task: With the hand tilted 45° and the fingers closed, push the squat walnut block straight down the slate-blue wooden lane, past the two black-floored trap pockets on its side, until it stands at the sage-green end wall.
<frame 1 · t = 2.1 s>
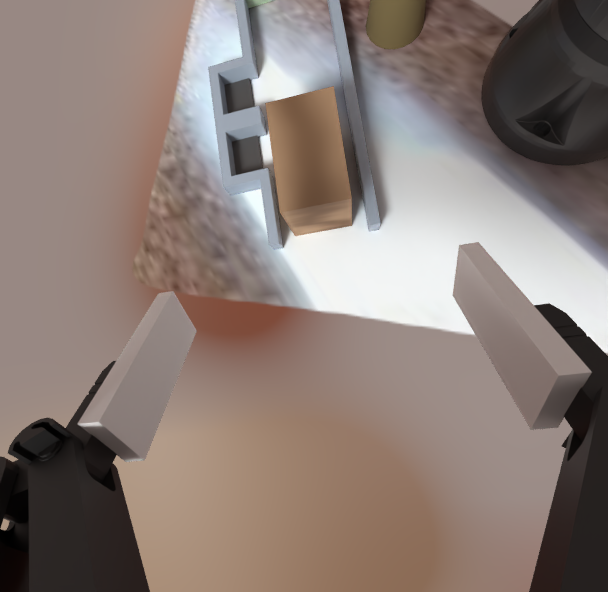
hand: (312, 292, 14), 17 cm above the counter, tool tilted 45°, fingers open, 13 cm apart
trap lane: (306, 124, 33), on the counter
cork: (394, 24, 33), on the counter
walnut block: (316, 186, 33), resting in trap lane
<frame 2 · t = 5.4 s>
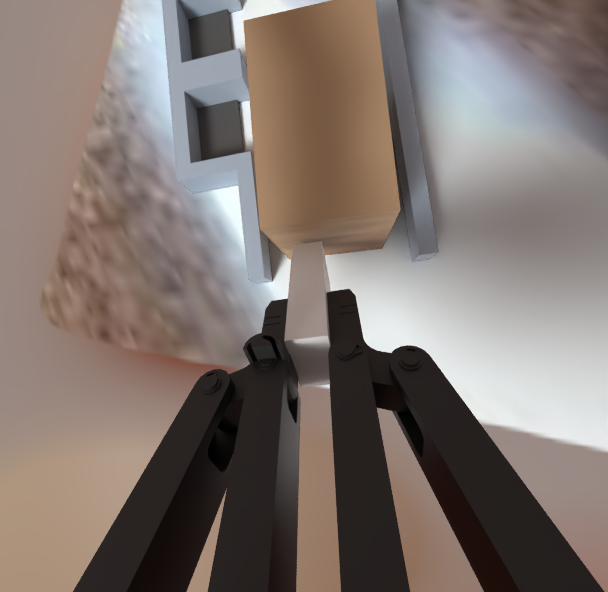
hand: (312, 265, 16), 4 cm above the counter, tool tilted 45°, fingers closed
trap lane: (315, 85, 21), on the counter
walnut block: (327, 180, 20), resting in trap lane, touching gripper
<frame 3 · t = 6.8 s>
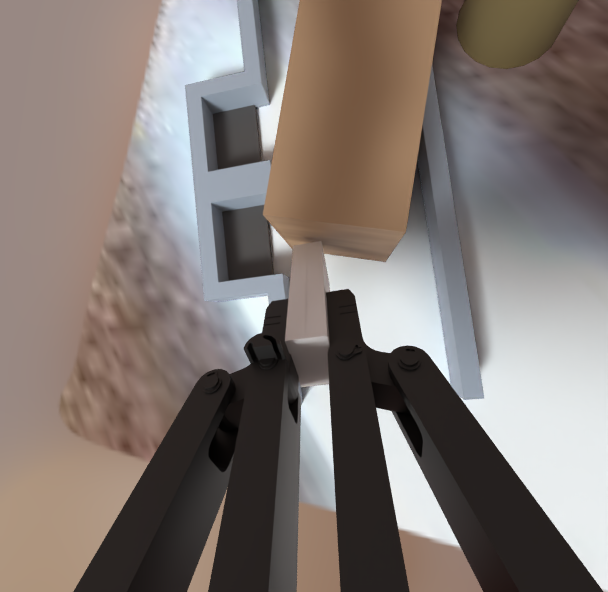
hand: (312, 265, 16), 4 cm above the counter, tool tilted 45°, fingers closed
trap lane: (348, 192, 20), on the counter
cork: (506, 25, 19), on the counter
walnut block: (350, 179, 20), resting in trap lane, touching gripper
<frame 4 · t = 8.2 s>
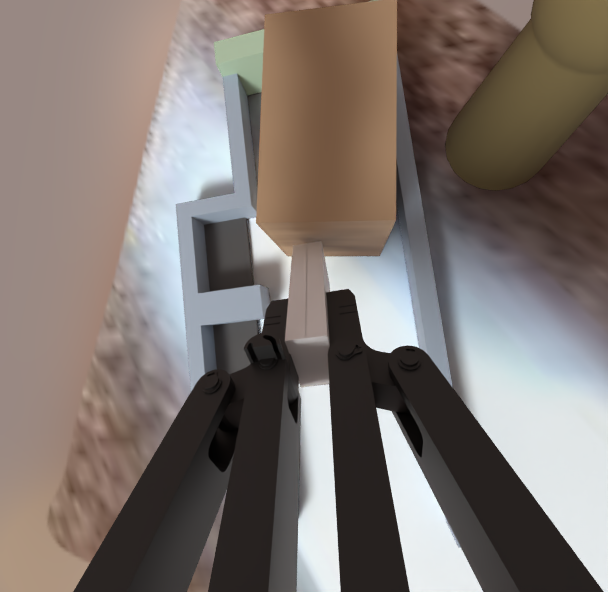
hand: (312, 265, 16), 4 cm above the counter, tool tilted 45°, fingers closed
trap lane: (339, 309, 20), on the counter
cork: (494, 145, 19), on the counter
walnut block: (334, 182, 20), resting in trap lane, touching gripper
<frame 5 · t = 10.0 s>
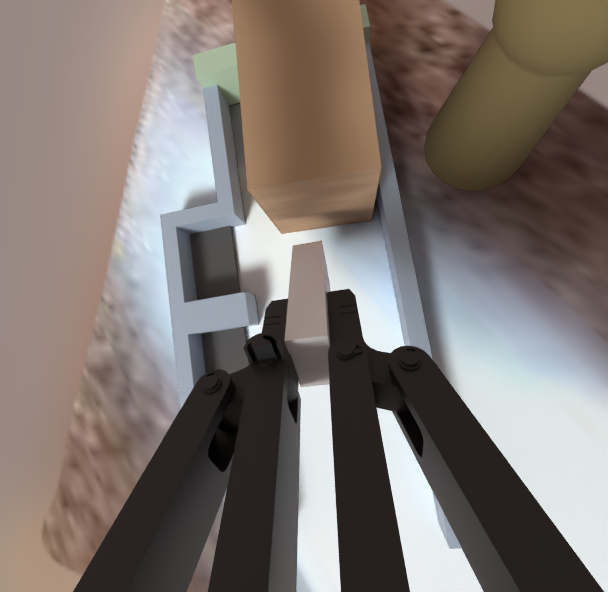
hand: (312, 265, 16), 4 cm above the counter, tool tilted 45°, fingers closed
trap lane: (325, 313, 20), on the counter
cork: (473, 146, 19), on the counter
walnut block: (318, 157, 21), resting in trap lane
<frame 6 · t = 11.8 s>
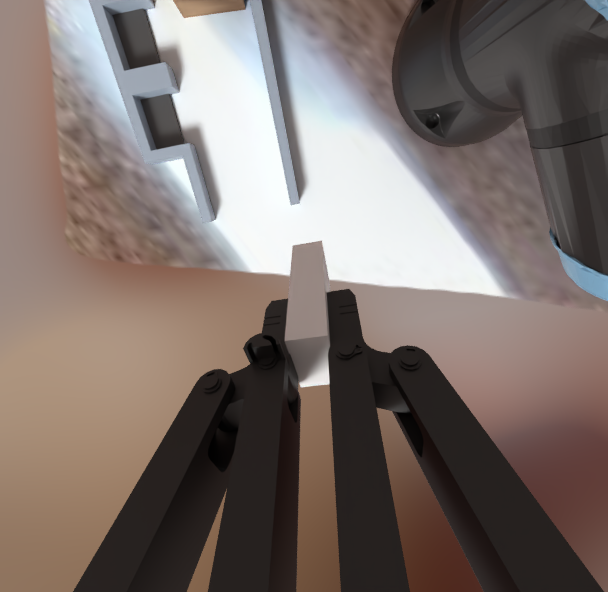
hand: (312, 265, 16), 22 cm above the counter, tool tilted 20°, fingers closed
trap lane: (221, 83, 31), on the counter
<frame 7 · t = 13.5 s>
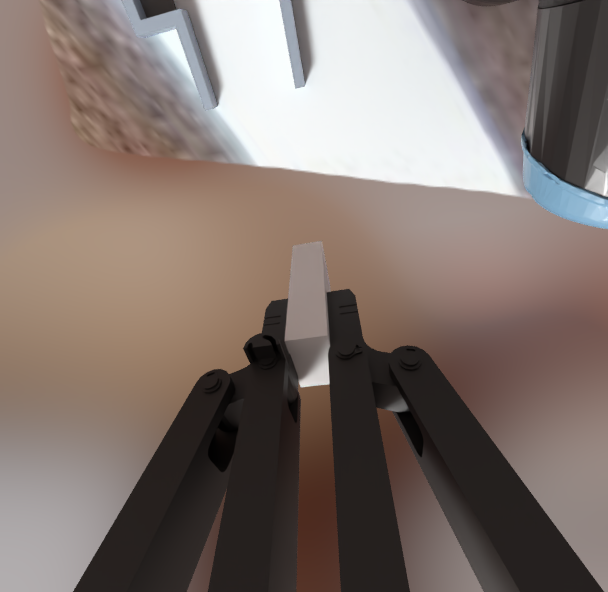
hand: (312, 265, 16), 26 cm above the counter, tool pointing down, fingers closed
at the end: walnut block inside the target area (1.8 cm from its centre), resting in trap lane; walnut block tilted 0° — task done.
